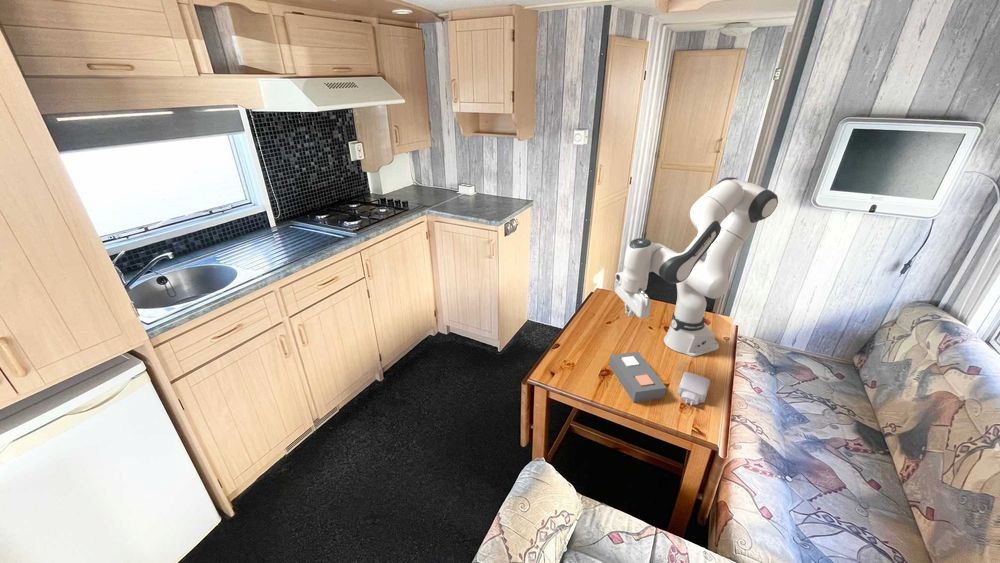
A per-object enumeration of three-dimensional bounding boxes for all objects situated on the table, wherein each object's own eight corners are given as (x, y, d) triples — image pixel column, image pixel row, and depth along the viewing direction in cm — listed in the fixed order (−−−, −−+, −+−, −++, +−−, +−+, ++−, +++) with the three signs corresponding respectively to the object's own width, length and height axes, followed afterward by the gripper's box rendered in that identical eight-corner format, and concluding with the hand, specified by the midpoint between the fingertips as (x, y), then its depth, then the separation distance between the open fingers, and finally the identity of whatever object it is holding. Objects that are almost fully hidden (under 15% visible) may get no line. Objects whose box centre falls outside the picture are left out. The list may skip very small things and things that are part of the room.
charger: (673, 404, 144) (681, 380, 155) (700, 414, 140) (707, 389, 151) (675, 394, 142) (684, 370, 153) (704, 404, 137) (710, 379, 149)
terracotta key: (645, 380, 151) (647, 374, 150) (652, 389, 147) (654, 383, 146) (633, 382, 150) (634, 376, 149) (640, 391, 146) (641, 385, 145)
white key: (632, 362, 161) (633, 356, 159) (638, 370, 156) (639, 364, 155) (620, 363, 160) (621, 357, 159) (626, 371, 156) (627, 365, 154)
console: (636, 361, 165) (638, 351, 162) (663, 397, 146) (666, 387, 144) (608, 365, 163) (610, 355, 160) (633, 402, 144) (635, 392, 142)
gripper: (658, 296, 135) (651, 329, 142) (628, 269, 153) (624, 300, 159) (640, 298, 134) (635, 332, 141) (613, 271, 152) (609, 302, 158)
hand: (629, 315), depth 150 cm, fingers closed
